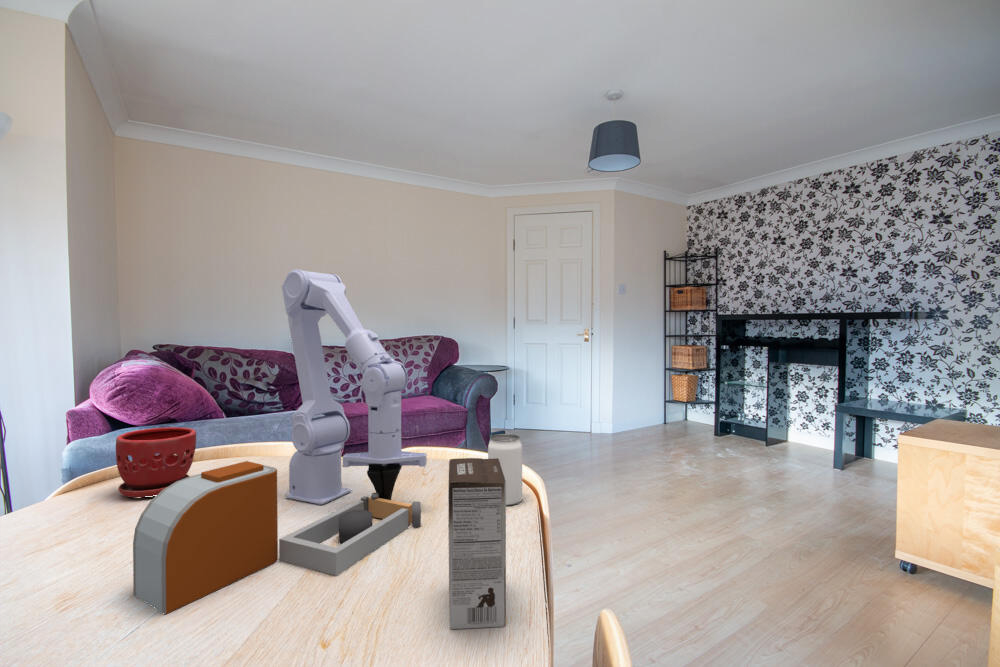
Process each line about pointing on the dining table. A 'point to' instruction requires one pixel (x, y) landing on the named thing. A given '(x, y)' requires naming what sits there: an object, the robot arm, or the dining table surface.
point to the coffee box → (477, 543)
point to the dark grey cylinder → (353, 524)
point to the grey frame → (335, 560)
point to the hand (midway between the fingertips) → (385, 506)
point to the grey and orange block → (205, 534)
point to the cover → (394, 509)
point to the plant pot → (154, 459)
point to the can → (508, 463)
